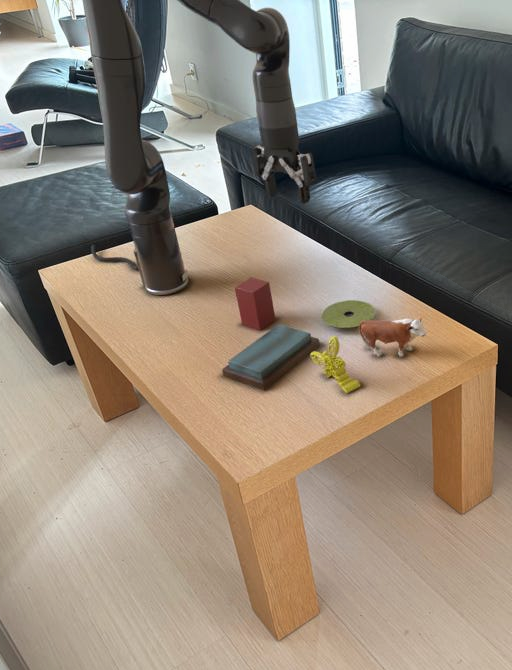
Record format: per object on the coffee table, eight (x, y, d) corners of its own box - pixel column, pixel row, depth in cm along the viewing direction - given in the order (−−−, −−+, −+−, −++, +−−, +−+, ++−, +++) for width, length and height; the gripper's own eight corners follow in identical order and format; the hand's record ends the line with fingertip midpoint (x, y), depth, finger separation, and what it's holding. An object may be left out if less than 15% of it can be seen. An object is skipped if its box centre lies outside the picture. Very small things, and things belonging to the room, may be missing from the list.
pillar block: (242, 325, 155) (234, 287, 150) (257, 314, 158) (250, 277, 153) (260, 330, 152) (253, 292, 147) (275, 319, 156) (269, 282, 151)
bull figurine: (426, 362, 141) (424, 326, 136) (358, 356, 143) (355, 320, 139) (430, 349, 145) (429, 314, 140) (365, 343, 147) (361, 308, 142)
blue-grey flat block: (223, 376, 139) (220, 362, 137) (280, 333, 151) (278, 320, 150) (264, 390, 135) (261, 376, 133) (319, 345, 147) (317, 331, 145)
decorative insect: (330, 402, 140) (306, 355, 140) (344, 395, 142) (320, 348, 142) (356, 387, 129) (330, 337, 129) (371, 380, 131) (345, 330, 131)
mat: (347, 341, 148) (346, 333, 147) (311, 322, 154) (310, 314, 153) (387, 319, 155) (386, 311, 154) (351, 302, 161) (350, 294, 160)
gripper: (317, 120, 144) (326, 198, 153) (262, 112, 150) (273, 187, 159) (293, 131, 139) (304, 211, 148) (237, 121, 145) (250, 199, 154)
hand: (288, 199), depth 153 cm, fingers open, 8 cm apart
